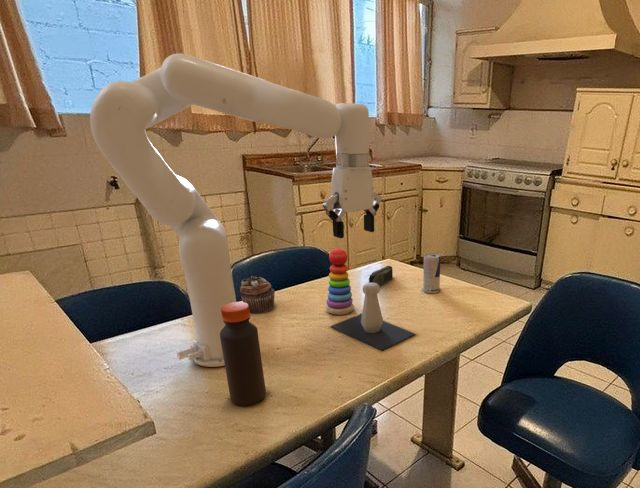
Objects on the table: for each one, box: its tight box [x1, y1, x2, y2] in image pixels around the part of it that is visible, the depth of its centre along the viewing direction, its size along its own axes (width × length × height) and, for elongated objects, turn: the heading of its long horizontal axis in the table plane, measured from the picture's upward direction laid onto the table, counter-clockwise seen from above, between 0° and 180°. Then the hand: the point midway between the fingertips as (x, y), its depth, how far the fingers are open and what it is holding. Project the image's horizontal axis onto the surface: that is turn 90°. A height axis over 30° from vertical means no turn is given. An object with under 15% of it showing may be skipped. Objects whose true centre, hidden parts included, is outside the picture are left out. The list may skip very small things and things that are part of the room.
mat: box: [330, 313, 416, 352], centre depth 121 cm, size 12×20×1 cm, turn 49°
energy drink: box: [422, 253, 441, 294], centre depth 148 cm, size 5×5×12 cm
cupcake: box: [239, 274, 276, 314], centre depth 133 cm, size 10×10×10 cm
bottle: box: [220, 301, 267, 407], centre depth 89 cm, size 7×7×20 cm
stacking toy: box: [325, 247, 355, 316], centre depth 130 cm, size 8×8×19 cm
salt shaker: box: [361, 282, 384, 333], centre depth 119 cm, size 6×6×13 cm
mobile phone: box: [368, 265, 394, 287], centre depth 155 cm, size 5×3×15 cm
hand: (354, 234), depth 111 cm, fingers open, 9 cm apart
